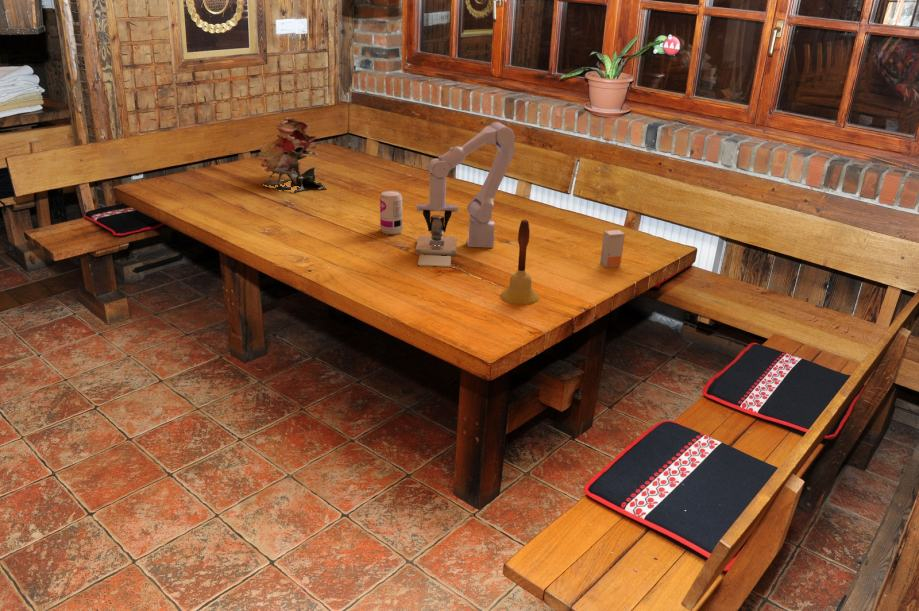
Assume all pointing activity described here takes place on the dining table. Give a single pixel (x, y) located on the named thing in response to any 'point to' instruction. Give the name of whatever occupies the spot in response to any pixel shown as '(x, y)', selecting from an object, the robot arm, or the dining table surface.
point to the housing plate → (427, 246)
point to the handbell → (521, 274)
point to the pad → (434, 260)
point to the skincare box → (612, 248)
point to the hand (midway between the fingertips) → (437, 230)
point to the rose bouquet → (289, 155)
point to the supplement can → (391, 212)
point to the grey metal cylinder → (437, 227)
